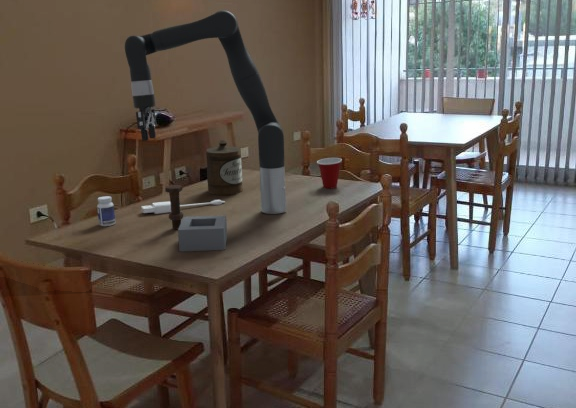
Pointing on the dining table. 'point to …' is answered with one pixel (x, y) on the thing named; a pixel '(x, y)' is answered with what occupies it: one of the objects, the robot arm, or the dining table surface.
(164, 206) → the charging cable
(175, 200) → the bolt
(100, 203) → the pill bottle
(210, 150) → the wooden container
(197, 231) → the holder
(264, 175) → the robot arm
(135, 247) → the dining table surface
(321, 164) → the plastic cup
